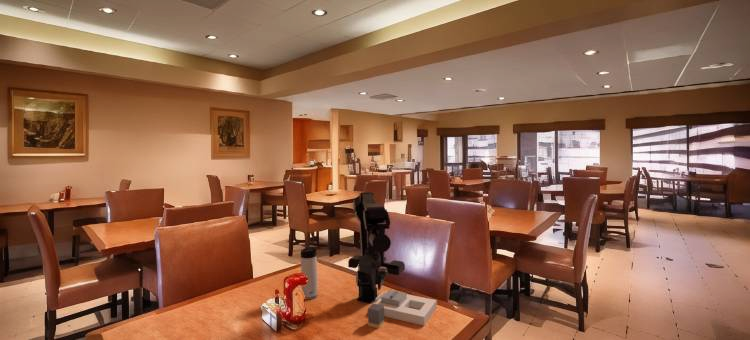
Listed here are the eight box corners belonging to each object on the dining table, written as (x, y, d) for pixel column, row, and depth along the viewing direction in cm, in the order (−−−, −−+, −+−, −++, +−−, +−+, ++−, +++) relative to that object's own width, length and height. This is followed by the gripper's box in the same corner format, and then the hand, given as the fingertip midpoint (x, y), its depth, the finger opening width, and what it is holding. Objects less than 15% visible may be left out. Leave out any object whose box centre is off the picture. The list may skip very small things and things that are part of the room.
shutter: (406, 298, 129) (406, 291, 129) (399, 306, 123) (399, 298, 123) (389, 294, 132) (389, 287, 132) (381, 302, 126) (381, 295, 126)
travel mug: (315, 300, 135) (313, 250, 134) (299, 299, 137) (297, 249, 135) (320, 293, 142) (319, 246, 140) (305, 292, 143) (304, 245, 142)
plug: (368, 325, 116) (368, 308, 115) (373, 320, 119) (373, 303, 119) (378, 328, 114) (378, 310, 114) (384, 322, 117) (383, 305, 117)
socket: (436, 308, 128) (436, 296, 127) (424, 325, 115) (424, 313, 115) (387, 298, 137) (387, 287, 136) (371, 313, 124) (371, 302, 124)
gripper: (338, 246, 112) (340, 293, 113) (391, 254, 104) (392, 304, 105) (355, 238, 122) (356, 281, 123) (405, 244, 113) (405, 290, 114)
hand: (376, 289), depth 116 cm, fingers closed
